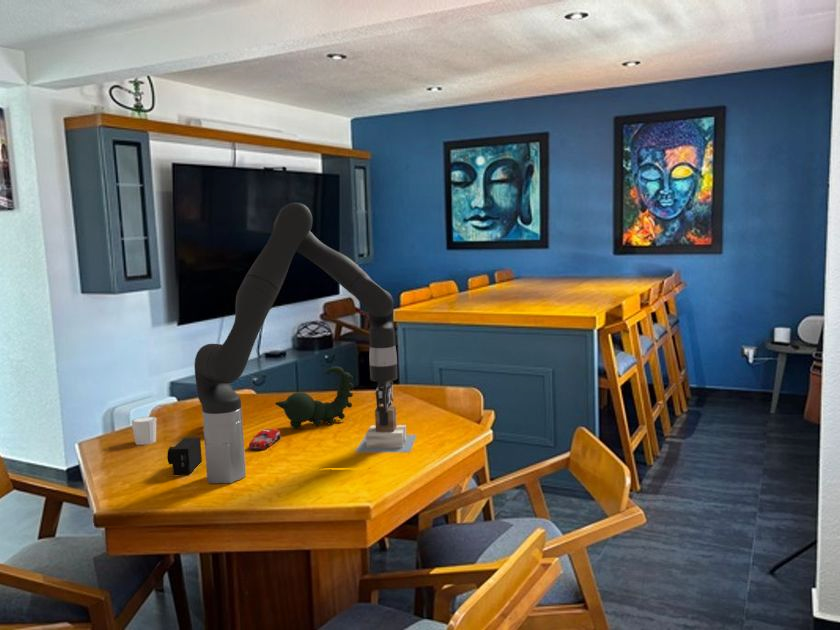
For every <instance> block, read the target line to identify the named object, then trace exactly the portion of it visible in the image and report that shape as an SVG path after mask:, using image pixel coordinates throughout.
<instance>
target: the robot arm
mask: <svg viewBox="0 0 840 630" xmlns="http://www.w3.org/2000/svg"><path fill="white" fill-rule="evenodd" d="M312 227H313V214H312V212H311V210H310V209H309V207H308V206H306V205H305V204H303V203H301V202H291V203H288V204H286V205H284V206H283V207H282V208H281V209H280V211H279V212H278V214H277V216H276V217H275V220H274V222H273V230H272V232H271V235H270V237H269V239H268V241H267V243H266V245H265V246H264V248H263V249H262V250H261V252H260V253H259V254H258V256H257V258H255V261H254V262H253V264H252V265H251V267H250V268H249V270H248V271H247V273H246V275H245V277H244V279H243V281H242V283H241V285H240V286H239V288H238V290H237V292H236V297H235V310H234V311H235V315H234V316H235V318H234V322H233V325H232V328H230V329H231V330H230V331H229V333H228V336H227V337H226V339H225V341H224V342H223V343H222V344H220V343H208V344H207V343H206V344H205V345H203V346H201V347H200V348H199V349H198V351H197V352H196V355H195V358H194V376H195V377H194V378H195V385H196V394H197V398H198V400H199V402H200V404H201V409H202V410H201V411H202V412H201V413H202V425H203V426H202V427H203V437H204V452H205V453H204V454H205V464H206V465H205V466H206V467H205V468H206V479H207V481H206V483H207V484H232V483H234V482H236V481H240V480H242V479H243V478H245V477H246V473H247V472H246V470H247V469H246V459H245V458H246V457H245V456H246V455H245V443H244V442H245V441H244V430H243V429H244V427H243V411H242V400H241V396H240V395H239V394H238V393H237V392H236V391H235V390H234V389H233V387H232V386H231V384H232V383H235V382H236V381H237V380H238V379H239V378H240V377H241V376H242V375H243V373H244V371H245V369H246V366H247V364H248V362H249V359H250V356H251V353H252V351H253V348H254V345H255V343H256V340H257V338H258V336H259V333H260V331H261V329H262V327H263V325H264V322H265V320H266V318H267V316H268V314H269V313H270V311H271V309H272V306H273V305H274V303H275V301H276V299H277V297H278V295H279V293H280V290H281V289H282V286H283V284H284V282H285V279H286V276H287V274H288V271H289V268H290V265H291V263H292V260H293V257H294V256H295V254H296V252H297V253H299V254H300V255H302V256H303V257H305V258H306V259H308V260H309V261H310V262H313V264H315V265H316V266H318V268H320V269H321V270H323V271H324V272H325V273H327V274H328V276H330V277H331V278H332V279H334V280H335V282H337V284H339V285H340V286H341V287H343V289H344V290H346V291H347V292H348V293H350V295H352V296H353V297H355V298H356V300H357V301H358V302H359V303H361V305H362V306H363V307H364V308H365V309H366V310H367V311H368V316H369V331H368V333H369V335H368V337H369V358H368V359H369V376H370V377H369V378H370V381H372V382H376V383H377V387H376V389H375V400H376V402H375V403H376V408H377V412H379V418H380V425H381V426H387V425H388V406H393V402H394V398H393V397H394V396H393V395H394V393H393V390H394V388H393V384H394V382H393V381H395V380H397V379H398V358H397V356H398V355H397V349H396V348H397V347H396V334H395V327H394V308H395V307H394V303H395V301H394V298H393V296H392V294H391V293H390V292H389V291H387V290H385V289H383V288H382V287H381V286H380V285H379V284H377V283H376V281H374V280H373V279H372V278H371V277H370V275H369V274H367V272H366V271H364V270H363V269H362V268H361V267H360V266H359V265H358V264H357V263H356V262H354V260H352V259H351V258H349V257H348V256H347V255H345V254H343V253H342V252H339V251H337V250H335V249H333V248H331V247H329V246H328V245H326V244H324V243H323V242H322V241H321V240H319V238H317V237H316V236H315V235H314V234H313V232H311V229H312ZM381 406H384V407H381Z"/></svg>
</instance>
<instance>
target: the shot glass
mask: <svg viewBox="0 0 840 630" xmlns="http://www.w3.org/2000/svg"><path fill="white" fill-rule="evenodd" d="M131 427H132V432H133V437H134V442H135V445H136V446H146V445H151V444H155V443H156V442H157V417H155V416H142V417H137V418H134V419H132V420H131Z"/></svg>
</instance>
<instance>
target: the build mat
mask: <svg viewBox="0 0 840 630" xmlns="http://www.w3.org/2000/svg"><path fill="white" fill-rule="evenodd" d="M417 436H418V435H417V434H406V438H407V439H406V441H405V444H404V446H403V448H367V447H366V435H364V438H363V439H362V440H361V442H360V443H359V445H358V446H357V448H356V449H355V451H354V453H411V451H412V448H413V446H414V444H415V440H416V438H417Z"/></svg>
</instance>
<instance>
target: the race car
mask: <svg viewBox="0 0 840 630" xmlns="http://www.w3.org/2000/svg"><path fill="white" fill-rule="evenodd" d="M253 437H254V438H252V439H251V441H250V442H249V444H248V447H249V449H250V450H252V451H253V450H257V451H260V450H267V448H268V449H269V448H270V447H271V446H272V445H274V444H275V443H277V442H279V441H280V440H281V431H280V430H279V429H277V428H276V429H275V428H274V429H273V428H264V429H262V430H260V431H259V432H258V433H257V434H256V435H253ZM278 440H279V441H278Z"/></svg>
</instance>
